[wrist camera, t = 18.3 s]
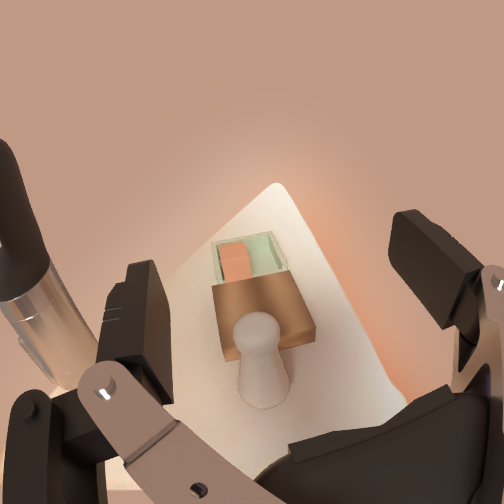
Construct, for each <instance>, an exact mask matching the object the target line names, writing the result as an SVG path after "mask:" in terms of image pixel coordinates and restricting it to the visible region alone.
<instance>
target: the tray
mask: <svg viewBox="0 0 504 504" xmlns="http://www.w3.org/2000/svg"><path fill="white" fill-rule="evenodd" d="M240 241H242V243H245V245H246V248H247V252H248V255H249V261H250V268H251V275H252V278H254V277H258V276H263V275H268V274H273V273H277V272H282V271H287V270H288V269H287V262H286V260H285V258H284V256H283V254H282V251H281V249H280V247H279V245H278V243H277V241H276V239H275V237H274V235H273V233H272V231H269V232H264V233H259V234H254V235H248V236H243V237H238V238H233V239H228V240H223V241H218V242H213V243H211V246H212V252H213V258H214V264H215V270H216V276H217V280H218V285H219V284H224V283H226V282H225V278H224V274H223V269H222V264H221V259H220V253H219V246H218V245H224V244H229V243H235V242H240Z"/></svg>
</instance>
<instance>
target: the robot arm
mask: <svg viewBox="0 0 504 504" xmlns="http://www.w3.org/2000/svg"><path fill="white" fill-rule="evenodd" d="M0 242H1V244H2V247H1V248H0V310H1V311H2V313H3V314H4V316H5V317H6V318H7V320H8V321H9V323H10V324H11V325H12V327H13V328H14V329H15V331H16V332H17V334H18V335H19V339H18V342H19V344H20V345H21V346H22V348H23V349H24V350H25V352H26V353H27V354H28V355H29V356H30V358H31V359H32V360H33V361H34V362H35V364H36V365H37V366H38V367H39V368H40V370H41V371H42V372H43V373H44V374H45V375H46V376H47V377H48V379H49V380H50V381H51V382H52V383H58V384H59V385H60V386H61V387H63V388H65V389H67V390H72V391H69V392H67V393H64V394H62V395H59V396H57V397H54V398H52V399H50V398H49V397H48V396H47V395H46V394H45V393H44V392H43V391H41V390H37V389H36V390H34V389H33V390H29V391H26V392H24V393H23V394H21V395H20V396H19V397H18V398H17V400H16V401H15V402H14V404H13V406H12V409H11V413H10V419H9V426H8V433H7V441H6V449H5V460H4V473H3V504H108V500H107V489H106V476H105V461H106V460H109V459H111V458H114V457H117V456H120V457H121V458H122V460H123V461H124V464H123V465H124V468H125V469H126V471H127V472H128V474H129V475H130V476H131V477H132V479H133V480H134V481H135V482H136V483H137V484H138V485H139V487H140V488H141V489H142V490H143V491H144V492H145V493H146V494H147V495H148V497H149V498H150V499H151V500H152V501H153V502H154V503H155V504H504V268H502V267H499V266H495V265H489V266H486V267H484V266H483V265H482V264H481V263H480V262H479V261H478V260H477V259H476V258H475V257H474V256H473V255H472V254H471V253H470V252H469V251H468V250H467V249H466V248H465V247H463V246H462V245H461V244H459V242H458V241H457V240H456V239H455V238H454V237H451V235H450V234H449V233H448V232H447V231H446V230H444V229H443V228H442V227H441V226H439V225H437V224H435V223H433V222H431V221H430V220H429V219H427V218H426V217H425V216H424V215H423V214H422V213H420V212H419V211H418V210H416V209H413V210H407V211H402V212H397V213H396V214H395V215H394V217H393V223H392V230H391V236H390V243H389V248H388V256H389V260H390V263H391V265H392V267H393V268H394V269H395V270H396V271H397V273H398V274H399V275H400V276H401V278H402V279H403V280H404V281H405V283H406V284H407V285H408V286H409V287H410V289H411V290H412V291H413V293H414V294H415V295H416V296H417V297H418V299H419V300H420V301H421V303H422V304H423V305H424V306H425V308H426V309H427V310H428V312H429V313H430V314H431V316H432V317H433V318H434V320H435V321H436V322H437V324H438V325H439V326H440V328H441V329H442V330H444V329H446V328H449V327H451V326H453V325H455V326H456V327H457V329H456V331H455V334H454V355H453V373H452V381H451V385H450V388H449V386H448V385H447V384H446V385H444V386H442V387H440V388H438V389H436V390H434V391H432V392H430V393H428V394H426V395H424V396H422V397H419V398H417V399H415V400H414V401H413V402H411V403H410V404H409V405H408V406H406V407H405V408H404V409H403V410H401V411H400V412H399V413H398V414H396V415H395V416H394V417H392V418H391V419H390V420H388V421H387V422H386V423H384V424H383V425H380V426H376V427H368V428H360V429H351V430H341V431H332V432H329V433H326V434H323V435H320V436H316V437H313V438H309V439H306V440H302V441H298V442H295V443H291V444H288V454H287V455H285V456H284V457H282V458H280V459H278V460H277V461H275V462H274V463H272V464H271V465H269V466H268V467H267V468H266V469H264V470H263V471H262V472H261V473H260V474H259V475H258V476H257V477H256V478H255V479H254V480H252V479H250V478H249V477H247V476H246V475H245V474H243V473H242V472H241V471H240V470H238V469H237V468H236V467H234V466H233V465H232V464H231V463H229V462H228V461H227V460H226V459H224V458H223V457H222V456H221V455H219V454H218V453H217V452H216V451H215V450H213V449H212V448H211V447H210V446H209V445H207V444H206V443H205V442H204V441H203V440H202V439H201V438H199V437H198V436H197V435H196V434H195V433H194V432H193V431H191V430H190V429H189V428H188V427H187V426H186V425H185V424H183V423H182V422H181V421H179V420H176V419H174V418H173V417H172V416H171V415H170V414H169V413H168V412H167V411H166V410H165V409H164V408H163V405H167V404H174V398H173V381H172V360H171V327H170V309H169V304H168V300H167V297H166V294H165V291H164V288H163V286H162V283H161V280H160V277H159V274H158V272H157V269H156V266H155V264H154V261H153V260H147V261H142V262H137V263H132V264H129V265H128V268H127V274H126V280H125V282H121V283H116V285H115V286H114V287H113V289H112V290H111V292H110V293H109V295H108V297H107V301H106V307H105V312H104V316H103V323H102V327H101V332H100V338H99V343H98V342H97V340H96V338H95V337H94V335H93V334H92V332H91V330H90V329H89V327H88V326H87V324H86V322H85V321H84V319H83V317H82V316H81V314H80V312H79V311H78V309H77V308H76V305H75V304H74V302H73V300H72V298H71V297H70V295H69V293H68V291H67V289H66V288H65V286H64V284H63V282H62V280H61V278H60V277H59V275H58V273H57V271H56V269H55V267H54V265H53V263H52V261H51V259H50V257H49V254H48V252H47V250H46V248H45V245H44V242H43V239H42V235H41V232H40V229H39V226H38V224H37V221H36V219H35V216H34V214H33V211H32V208H31V205H30V203H29V199H28V196H27V193H26V190H25V186H24V183H23V179H22V176H21V173H20V170H19V167H18V164H17V161H16V158H15V156H14V154H13V152H12V150H11V148H10V147H9V146H8V144H7V143H6V142H4V141H3V140H2V139H0Z"/></svg>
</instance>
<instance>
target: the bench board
mask: <svg viewBox="0 0 504 504" xmlns="http://www.w3.org/2000/svg"><path fill="white" fill-rule="evenodd" d="M212 291H213V298H214V304H215V311H216V317H217V323H218V329H219V335H220V341H221V347H222V351H223V354H224V357H225V361H226V362H227V361H232V360H237V359H240V357H241V351H239V350H238V348H237V346H236V344H235V342H234V340H233V327H234V324H235V323H236V321H237V320H238V319H239V318H240V317H242V316H244V315H245V314H247V313H252V312H264V313H268V314H269V315H271V316H273V317H274V318H275V319H276V321H277V322H278V323H279V326H280V342H279V344H278V345H277V347H278V350H282V349H286V348H290V347H294V346H298V345H302V344H306V343H310V342H313V341H315V329H316V326H315V324H314V322H313V320H312V318H311V315H310V313H309V311H308V309H307V307H306V305H305V302H304V300H303V298H302V296H301V294H300V292H299V290H298V287H297V285H296V283H295V281H294V279H293V277H292V275H291V273H290V270H287V271H282V272H277V273H273V274H268V275H263V276H258V277H254V278H250V279H245V280H239V281H234V282H229V283H224V284H219V285H214V286H212Z"/></svg>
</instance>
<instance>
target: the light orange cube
mask: <svg viewBox="0 0 504 504" xmlns="http://www.w3.org/2000/svg"><path fill="white" fill-rule="evenodd" d="M219 249H220V256H221V262H222V267H223V272H224V277H225V282H226V283H229V282H234V281H239V280H245V279H250V278H252V275H251V268H250V261H249V255H248V252H247V248H246V245H245V243H241V244H235V245H230V246H224V247H219Z"/></svg>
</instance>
